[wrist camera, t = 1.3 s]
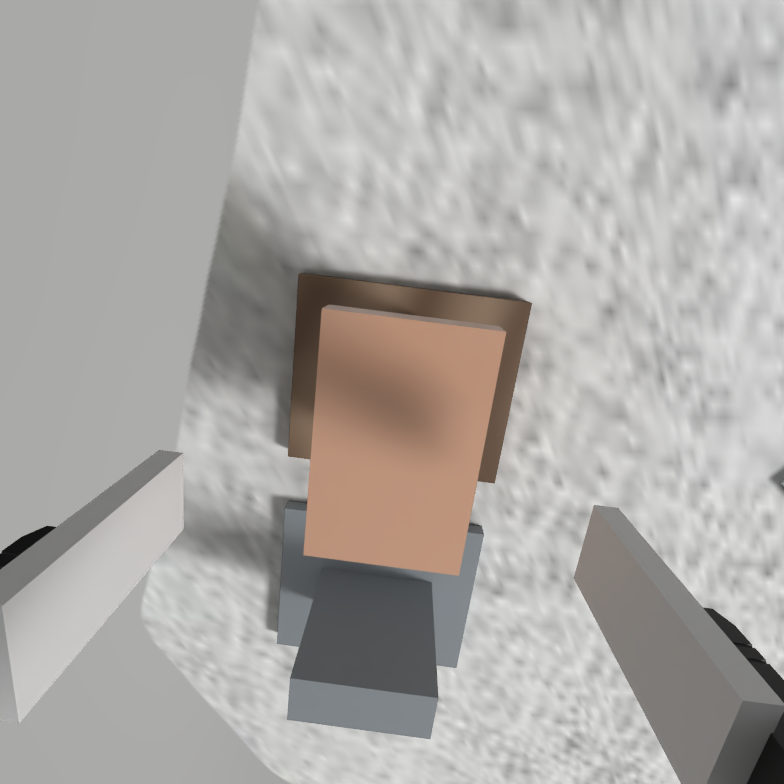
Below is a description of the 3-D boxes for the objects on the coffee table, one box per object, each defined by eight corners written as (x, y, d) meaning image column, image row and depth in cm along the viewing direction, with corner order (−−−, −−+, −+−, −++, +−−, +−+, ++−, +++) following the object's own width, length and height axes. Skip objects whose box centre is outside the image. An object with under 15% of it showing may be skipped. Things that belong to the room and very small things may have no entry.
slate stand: (481, 526, 32) (510, 639, 23) (455, 656, 36) (470, 802, 26) (288, 500, 33) (236, 602, 23) (280, 633, 36) (232, 769, 26)
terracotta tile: (499, 326, 18) (506, 331, 17) (455, 554, 22) (458, 575, 20) (329, 304, 18) (321, 308, 17) (310, 535, 22) (303, 555, 20)
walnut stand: (527, 301, 28) (587, 324, 18) (492, 476, 31) (526, 573, 22) (302, 273, 28) (244, 281, 18) (291, 450, 31) (238, 534, 22)
